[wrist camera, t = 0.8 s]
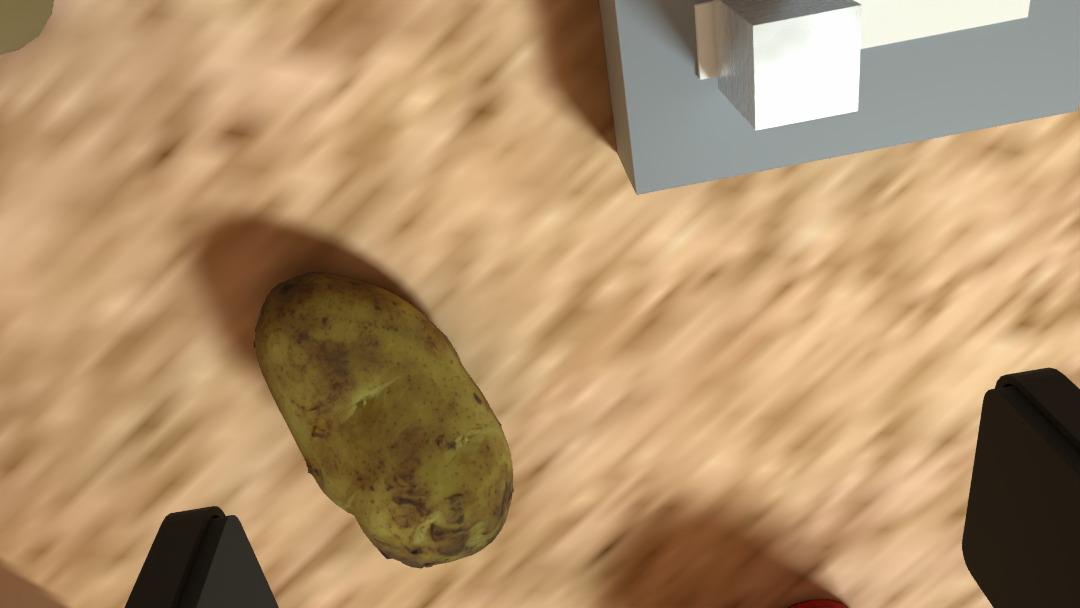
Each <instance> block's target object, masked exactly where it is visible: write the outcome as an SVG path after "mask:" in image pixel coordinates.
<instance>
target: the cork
mask: <svg viewBox="0 0 1080 608" xmlns="http://www.w3.org/2000/svg"><path fill="white" fill-rule="evenodd" d="M53 1H54V0H0V55H1V54H4V53H8V52H12V51H15V50H19V49H20V48H22V47H23V46H25V45H26V44H27V43H29V42H30V41H32V40H33V39H34V38H36V37H37V36H39V34H40V33H41V31H42V29H43V28H44V26H45V24H46V22H47V21H48V19H49V17H50V16H51V14H52V8H53Z"/></svg>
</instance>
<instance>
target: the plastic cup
mask: <svg viewBox="0 0 1080 608" xmlns="http://www.w3.org/2000/svg"><path fill="white" fill-rule="evenodd" d="M790 608H847V607H846V606H845V605H844V604H841V603H838V602H834V601H831V600H811V601H807V602H804V603H800V604H797V605H793V606H791V607H790Z"/></svg>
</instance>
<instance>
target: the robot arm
mask: <svg viewBox="0 0 1080 608" xmlns="http://www.w3.org/2000/svg"><path fill="white" fill-rule="evenodd" d="M962 551H963V556H964V560H965V563H966V565H967V568H968V570H969V571H970V573H971V575H972V576H973V578H974V579H975V581H976V582H977V584H978V585H979V587H980V588H981V590H982V591H983V593H984V594H985V596H986V597H987V599H988V600H989V601H990V603H991V604H992V606H993V607H994V608H1080V389H1079V388H1078V387H1077V386H1076V385H1075V384H1074V383H1072V382H1071V381H1070V380H1069V379H1068V378H1067V377H1066V376H1065V375H1064V374H1062V373H1061V372H1059V371H1058V370H1057V369H1053V368H1044V369H1038V370H1032V371H1026V372H1020V373H1014V374H1008V375H1004V376H1001V377H1000V378H999V380H998V381H997V383H996V386H995V389H991V390H988V391H987V392H986V394H985V396H984V400H983V406H982V413H981V420H980V426H979V433H978V440H977V446H976V453H975V460H974V466H973V473H972V480H971V487H970V493H969V500H968V507H967V513H966V520H965V527H964V533H963V540H962ZM125 608H279V607H278V605H277V602H276V600H275V598H274V596H273V594H272V591H271V589H270V587H269V585H268V582H267V580H266V578H265V576H264V574H263V571H262V569H261V567H260V565H259V562H258V560H257V558H256V556H255V554H254V551H253V549H252V547H251V545H250V542H249V540H248V538H247V536H246V534H245V531H244V529H243V527H242V525H241V523H240V521H239V519H238V518H237V517H236V516H235V515H230V516H225V514H224V512H223V511H222V510H221V509H220V508H219V507H217V506H212V507H206V508H200V509H194V510H188V511H182V512H176V513H170V514H169V515H168V516H166V517H165V519H164V520H163V522H162V524H161V526H160V528H159V531H158V533H157V535H156V538H155V540H154V542H153V544H152V547H151V549H150V551H149V553H148V556H147V558H146V560H145V563H144V565H143V567H142V569H141V572H140V574H139V576H138V578H137V581H136V583H135V585H134V587H133V590H132V592H131V594H130V597H129V599H128V601H127V603H126V606H125Z"/></svg>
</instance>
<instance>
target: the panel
mask: <svg viewBox="0 0 1080 608" xmlns="http://www.w3.org/2000/svg"><path fill="white" fill-rule="evenodd" d="M854 1H856V2H858V3H860V4H861V5H862V22H861V46H860V70H859V94H858V111H855V112H849V113H844V114H839V115H834V116H828V117H823V118H818V119H813V120H807V121H802V122H797V123H792V124H786V125H781V126H776V127H771V128H766V129H760V130H755V129H754V128H753V127H752V126H751V125H750V123H749V122H748V121H747V120H746V119H745V118H744V117H743V116H742V115H741V113H740V112H739V111H738V110H737V109H736V108H735V107H734V106H733V105H732V104H731V102H730V101H729V100H728V99H727V98H726V97H725V96H724V95H723V94H722V92H721V91H720V90H719V89H718V78H717V58H716V38H715V18H714V0H599V6H600V14H601V22H602V30H603V38H604V47H605V55H606V63H607V71H608V79H609V88H610V96H611V104H612V112H613V121H614V129H615V137H616V145H617V153H618V156H619V158H620V160H621V162H622V164H623V167H624V169H625V171H626V173H627V175H628V177H629V180H630V182H631V184H632V186H633V188H634V190H635V193H636V195H639V194H644V193H649V192H654V191H660V190H665V189H670V188H675V187H681V186H686V185H691V184H696V183H702V182H707V181H712V180H717V179H723V178H728V177H733V176H738V175H744V174H749V173H754V172H759V171H765V170H770V169H775V168H780V167H786V166H791V165H796V164H801V163H807V162H812V161H817V160H822V159H828V158H833V157H838V156H843V155H849V154H854V153H859V152H864V151H870V150H875V149H880V148H885V147H891V146H896V145H901V144H906V143H912V142H917V141H922V140H927V139H933V138H938V137H943V136H948V135H954V134H959V133H964V132H969V131H975V130H980V129H985V128H990V127H996V126H1001V125H1006V124H1011V123H1017V122H1022V121H1027V120H1032V119H1038V118H1043V117H1048V116H1053V115H1059V114H1064V113H1069V112H1074V111H1078V108H1079V103H1080V0H854Z"/></svg>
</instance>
